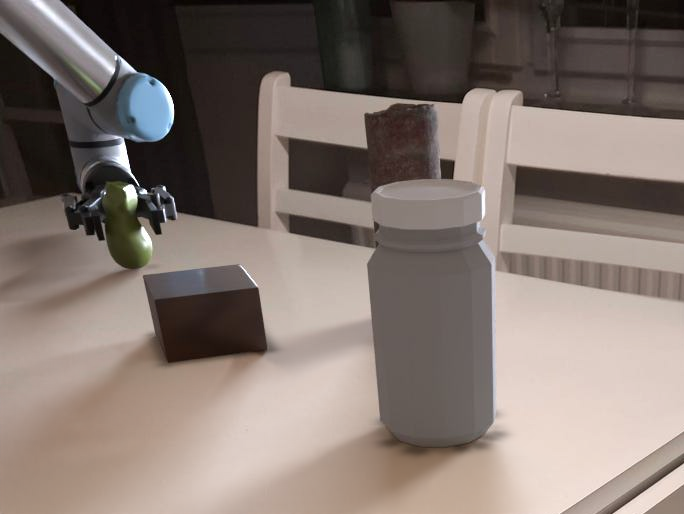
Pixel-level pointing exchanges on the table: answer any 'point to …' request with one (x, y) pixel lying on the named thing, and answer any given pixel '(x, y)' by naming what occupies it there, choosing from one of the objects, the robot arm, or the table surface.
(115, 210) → the pear
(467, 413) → the jar
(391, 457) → the table surface
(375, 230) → the candle
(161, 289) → the block
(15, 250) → the table surface
